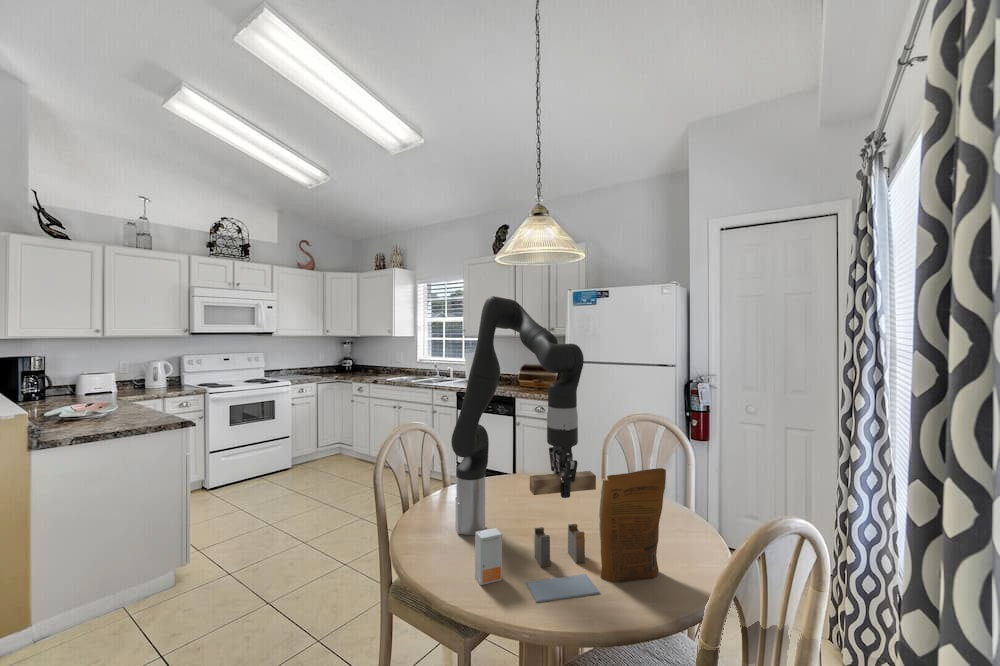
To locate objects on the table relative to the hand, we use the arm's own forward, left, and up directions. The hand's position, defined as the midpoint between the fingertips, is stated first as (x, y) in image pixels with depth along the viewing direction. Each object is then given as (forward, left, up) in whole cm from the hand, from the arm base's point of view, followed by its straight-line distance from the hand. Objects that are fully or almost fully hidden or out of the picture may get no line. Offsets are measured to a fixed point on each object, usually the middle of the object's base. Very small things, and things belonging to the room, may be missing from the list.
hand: (562, 493), depth 109 cm
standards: (+4, +13, -23) cm, 27 cm away
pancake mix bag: (+19, +1, -24) cm, 30 cm away
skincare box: (-17, +8, -24) cm, 30 cm away
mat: (0, 0, -23) cm, 23 cm away
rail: (0, 0, +1) cm, 1 cm away
